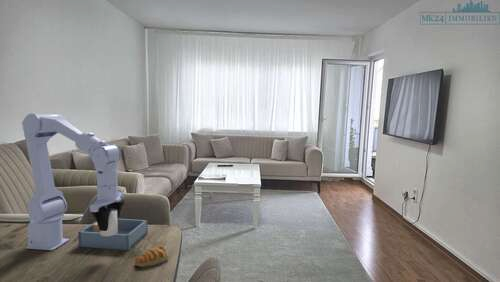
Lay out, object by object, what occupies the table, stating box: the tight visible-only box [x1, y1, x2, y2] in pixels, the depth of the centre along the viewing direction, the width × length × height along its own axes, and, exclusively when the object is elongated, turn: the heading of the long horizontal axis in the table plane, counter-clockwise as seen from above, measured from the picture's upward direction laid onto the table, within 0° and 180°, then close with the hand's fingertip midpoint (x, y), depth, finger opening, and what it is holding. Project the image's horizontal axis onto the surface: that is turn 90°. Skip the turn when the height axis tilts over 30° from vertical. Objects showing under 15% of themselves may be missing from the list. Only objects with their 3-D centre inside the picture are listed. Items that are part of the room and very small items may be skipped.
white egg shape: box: [100, 209, 118, 236], centre depth 94 cm, size 5×5×7 cm
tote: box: [77, 218, 149, 251], centre depth 107 cm, size 18×14×5 cm
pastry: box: [134, 245, 169, 268], centre depth 92 cm, size 9×7×4 cm
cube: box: [93, 223, 100, 233], centre depth 107 cm, size 5×5×5 cm
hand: (108, 226), depth 95 cm, fingers closed on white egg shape, 5 cm apart
